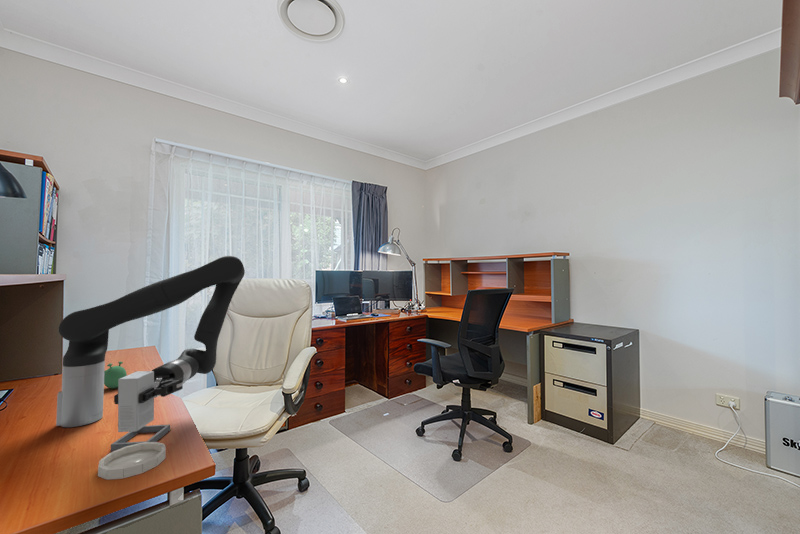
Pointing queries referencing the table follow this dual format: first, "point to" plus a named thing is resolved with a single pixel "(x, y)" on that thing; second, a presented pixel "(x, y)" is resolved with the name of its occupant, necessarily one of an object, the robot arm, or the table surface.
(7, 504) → the table surface
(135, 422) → the skincare box
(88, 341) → the robot arm
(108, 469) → the bowl
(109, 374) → the alien toy
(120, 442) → the tray
